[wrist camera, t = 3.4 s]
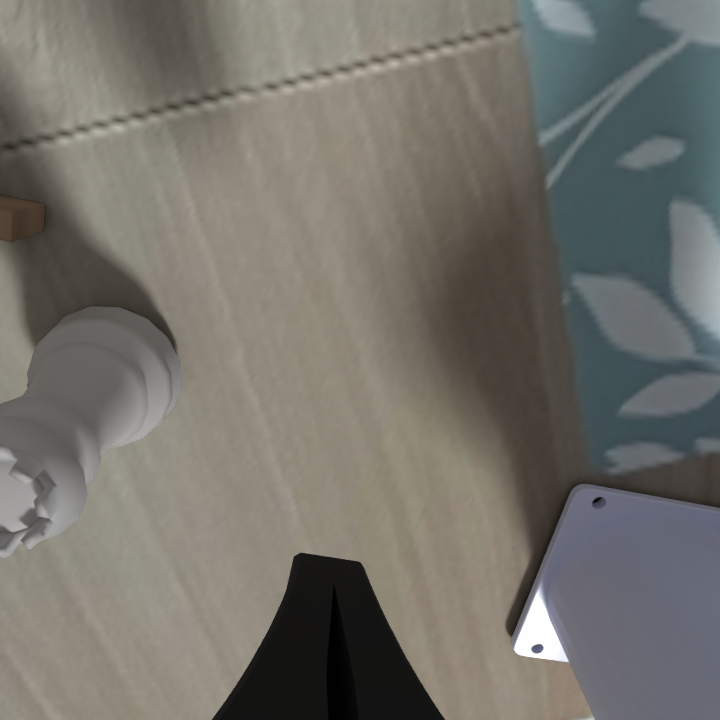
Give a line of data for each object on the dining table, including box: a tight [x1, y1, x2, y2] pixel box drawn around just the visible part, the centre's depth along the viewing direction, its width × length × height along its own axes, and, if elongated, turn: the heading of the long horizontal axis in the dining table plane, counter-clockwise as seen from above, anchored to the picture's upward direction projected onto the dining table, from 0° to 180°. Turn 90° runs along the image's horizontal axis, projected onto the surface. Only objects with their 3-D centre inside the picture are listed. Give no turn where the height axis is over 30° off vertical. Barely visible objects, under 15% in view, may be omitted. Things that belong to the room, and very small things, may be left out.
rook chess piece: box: [0, 306, 182, 557], centre depth 16 cm, size 4×4×8 cm
